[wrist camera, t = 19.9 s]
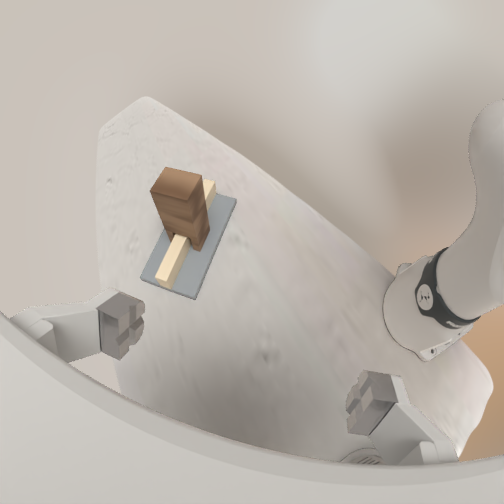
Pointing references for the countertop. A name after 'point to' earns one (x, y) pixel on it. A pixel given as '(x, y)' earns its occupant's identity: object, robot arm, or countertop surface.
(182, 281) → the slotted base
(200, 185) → the walnut block
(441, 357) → the countertop surface
